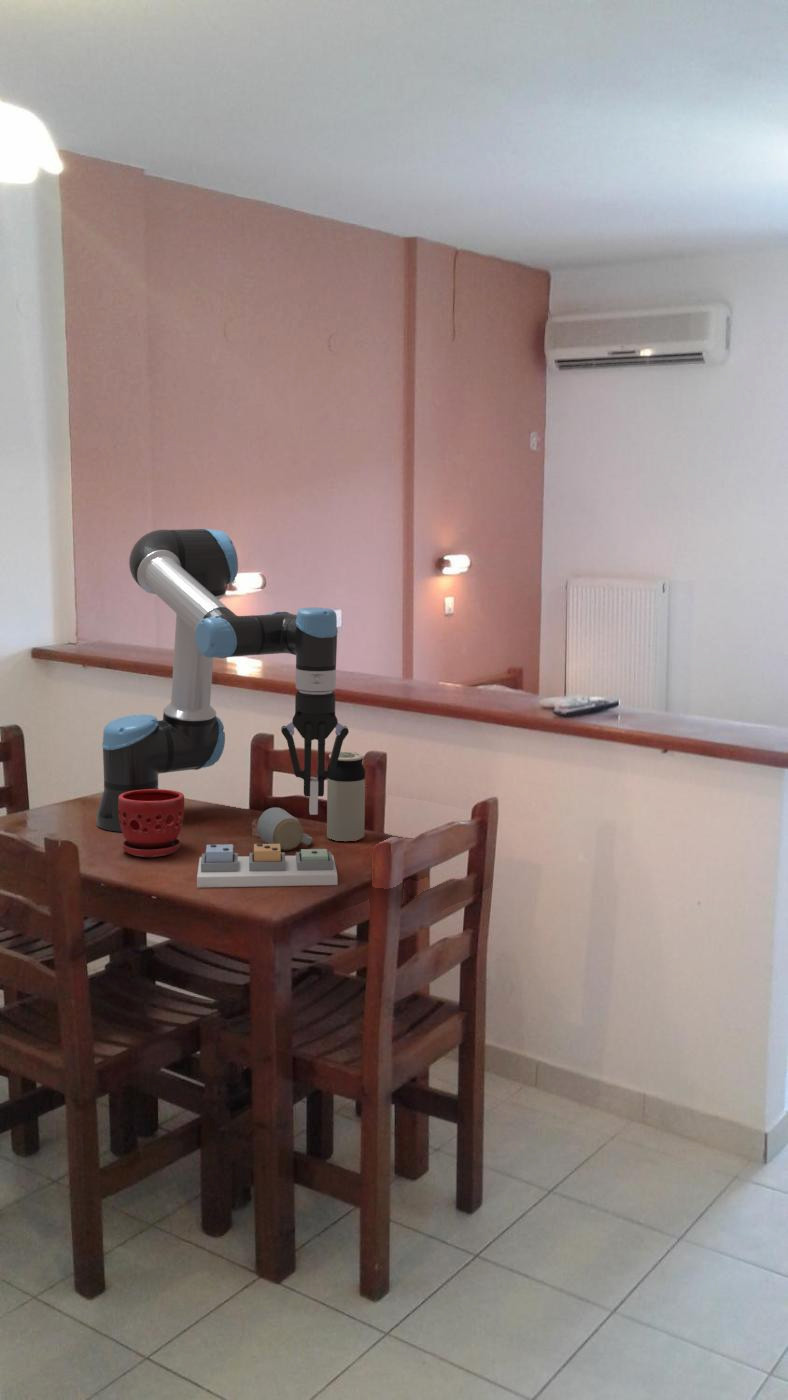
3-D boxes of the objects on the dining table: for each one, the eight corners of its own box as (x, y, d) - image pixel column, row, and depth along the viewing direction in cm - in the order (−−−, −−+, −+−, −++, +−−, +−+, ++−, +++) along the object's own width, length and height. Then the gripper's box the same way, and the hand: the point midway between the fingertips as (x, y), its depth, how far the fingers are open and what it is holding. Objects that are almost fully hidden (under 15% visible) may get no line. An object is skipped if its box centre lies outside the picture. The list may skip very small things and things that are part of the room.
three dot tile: (253, 854, 244) (253, 843, 243) (280, 853, 244) (280, 842, 244) (254, 861, 239) (254, 850, 238) (280, 861, 239) (280, 849, 239)
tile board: (199, 866, 247) (199, 849, 246) (332, 864, 250) (333, 847, 249) (197, 887, 234) (196, 868, 234) (337, 884, 237) (337, 866, 237)
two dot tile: (206, 854, 243) (206, 843, 242) (233, 854, 243) (232, 843, 243) (205, 862, 238) (205, 851, 237) (232, 861, 238) (232, 850, 238)
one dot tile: (300, 859, 245) (300, 848, 244) (326, 858, 245) (326, 847, 245) (301, 866, 240) (301, 855, 240) (328, 866, 240) (328, 855, 240)
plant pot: (193, 856, 254) (192, 798, 252) (128, 863, 248) (127, 804, 246) (174, 839, 266) (173, 784, 264) (112, 846, 260) (110, 789, 258)
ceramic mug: (273, 854, 256) (274, 817, 255) (256, 844, 263) (256, 808, 262) (319, 848, 262) (320, 812, 261) (301, 839, 269) (302, 803, 268)
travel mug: (329, 843, 265) (329, 759, 262) (324, 833, 273) (325, 751, 270) (366, 842, 266) (368, 758, 263) (361, 832, 274) (362, 750, 271)
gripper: (281, 694, 233) (279, 818, 237) (351, 694, 234) (349, 817, 238) (280, 687, 240) (278, 807, 244) (348, 687, 242) (346, 807, 246)
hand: (313, 812), depth 241 cm, fingers closed
